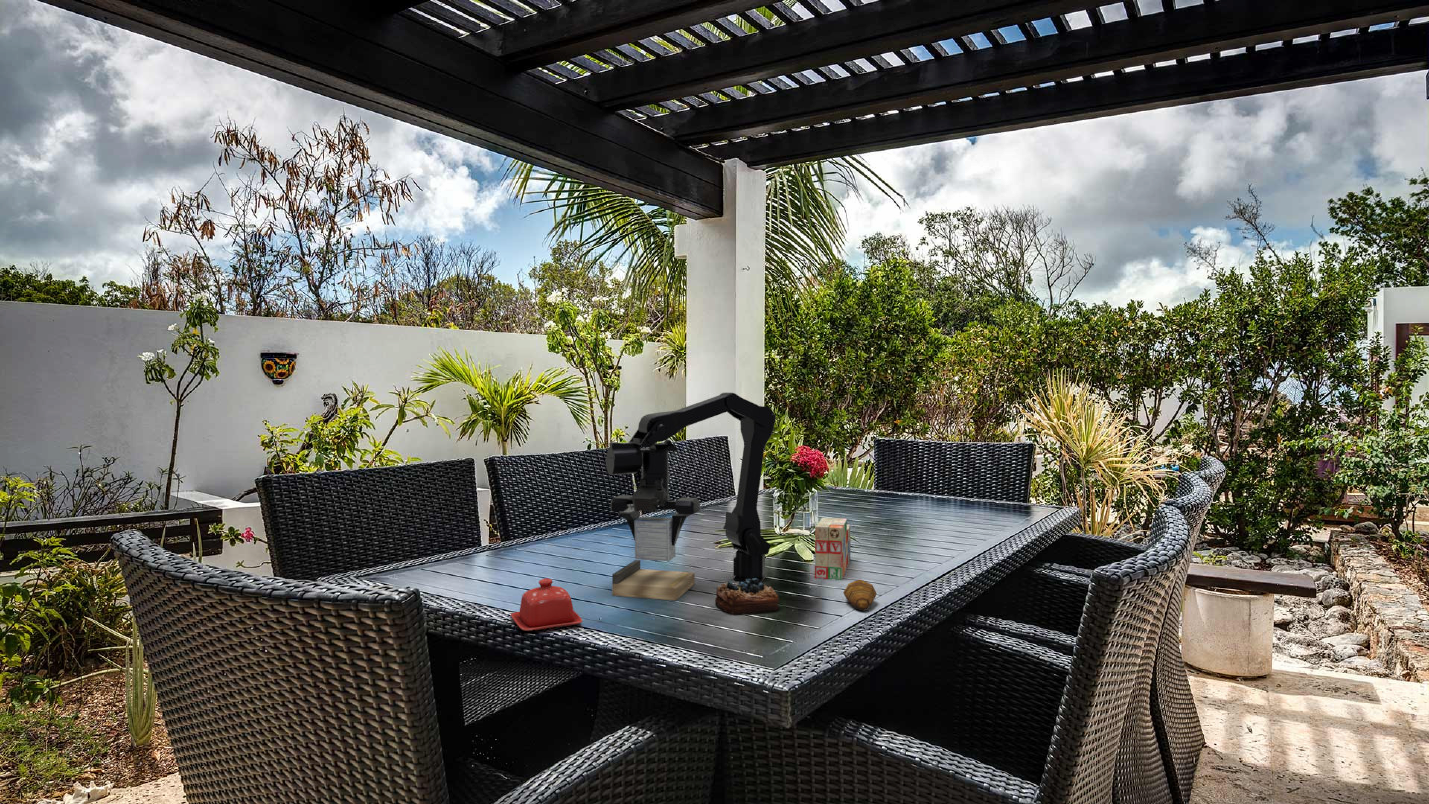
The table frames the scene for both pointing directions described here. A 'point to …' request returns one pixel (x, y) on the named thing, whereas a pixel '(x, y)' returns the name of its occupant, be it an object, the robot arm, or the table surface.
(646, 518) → the medicine box
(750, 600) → the pastry
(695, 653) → the table surface
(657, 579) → the dock
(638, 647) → the table surface
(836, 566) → the stack of blocks
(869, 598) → the croissant
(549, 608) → the butter dish
